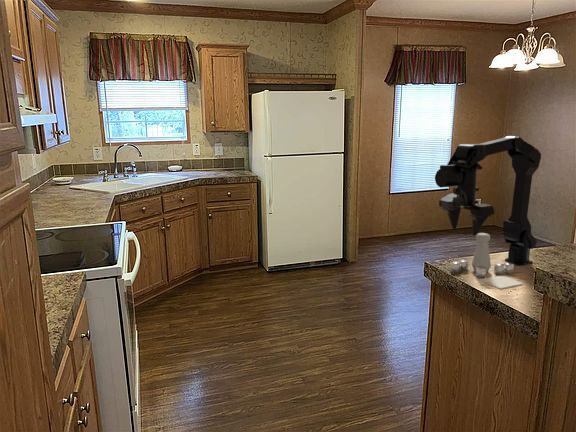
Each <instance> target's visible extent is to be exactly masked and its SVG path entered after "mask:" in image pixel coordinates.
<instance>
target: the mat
mask: <svg viewBox="0 0 576 432" xmlns="http://www.w3.org/2000/svg"><path fill="white" fill-rule="evenodd" d="M479 281H480V282H482V283H484V284H487V285H488V286H489V285H490V286H491V287H494V288H497V289H498V290H503V289H504V290H505V289H508V288H514V287H518V286H522V285H524V283H523V282H520V281H519V280H515V279H513V278H510V277H508V276H505V275H504V274H503V275H497V276H492V277H486V278H483V279H482V278H479Z"/></svg>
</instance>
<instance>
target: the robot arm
mask: <svg viewBox="0 0 576 432" xmlns="http://www.w3.org/2000/svg"><path fill="white" fill-rule="evenodd" d="M502 152H503V153H504V152H506V154H507V155H508V156H509V157H510V159H511V167H512V169H513V171H514V173H515V178H514V186H513V187H514V188H513V196H512V205H511V212H510V216H509V217H508V219H506V220H503V222H502V230H501V232H502V236H503V239H504V242H505V244H509V247H508V248H509V249H508V253H507V254H508V255H507V257H506V258H504V261H505V262H510V263H513V264H514V265H518V266H522V265H523V266H524V265H527V264H532V263H533V262H534V261H532V260H530V253H531V249H533V248H536V245H537V243H538V241H537V240H536V238H535V237H534V235H533V233H532V225H531V223H530V220H529V218H528V212H529V206H530V196H531V188H532V180H533V175H534V173H536V171H538V169H539V167H540V163H541V159H542V153H541V151H539V149H538V148H536V147H535V146H534V145H532V144H531V143H529V142H526V140H524V139H523V138H522V137H520V136H519V135H507V136H505V137H501V138H497V139H494V140H493V139H492V140H489V141H485V142H482V143H460V144H458V145H457V146H456V149H455V151H454V152H453V155H451V158H450V159H449V161H448V162H447V165H445V164H441V165H440V166H439V169H438V170H437V171H436V173H435V175H434V181H435V184H436V185H437V187H439V188H440V189H441V188H447V187H453V189H452V193H449V194H446V195H445V196H444V197H441V198H440V200H438V201H439V203H438V205H439V207H441V209H442V210H444V211H445V212H446V213H447V215H448V218H449V221H450V224H451V227H452V229H453V230H456V229H457V227H458V223H459V220H460V219H459V218H460V215H461V209H464V210H468V211H469V212H470V215H469V217H470V218H471V220H472V235H473V236H476V235H477V234H478V233H480V232H479V231H480V230H481V228H482V227H483V224H484V223H485V222H486V220H488V218H489V217H491V216H492V215H495V207H494V205H491V204H488V203H479V200H478V199H476V198H477V197H476V196H477V195H476V194H477V193H476V192H478V191H480V187H477V179H478V178H477V177H478V176H477V175H478V171H479V170H482V169H483V166H482V165H481V164H480V162H482V161H484V159H486V157H488V156H491V155H495V154H500V153H502Z"/></svg>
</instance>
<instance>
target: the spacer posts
mask: <svg viewBox="0 0 576 432" xmlns="http://www.w3.org/2000/svg"><path fill="white" fill-rule="evenodd" d="M514 269H515V264H514V263H511V262H508V261H505V262H503V263H500V262H495V263H494V269H493V273H494V275H497V276H501V275H503V276H504V275H505V274H507V275H513V274H514ZM468 270H469V261H468V260H467V259H459V260H458V261H451V262H450V273H454V274H460V273H461V272H467V271H468ZM486 275H487V273H486V268H485V267H480V266H479V267H476V272H475V278H477V279H486V278H487V277H486Z"/></svg>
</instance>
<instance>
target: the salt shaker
mask: <svg viewBox="0 0 576 432" xmlns="http://www.w3.org/2000/svg"><path fill="white" fill-rule="evenodd" d="M475 240H476V241H477V243H476V246H475V251H474V254H473V258H472V261H471V266H472V268H473V269H472V270H473V272H474V273H476V267H479V266H480V267H485V268H486V274H487V273H488V272H489V271H490V269H491V267H492V264H491V254H490V247H489V246H490V245H489V242H490V241H491V235H490V234H489V233H485V232H478V233H477V235H475Z"/></svg>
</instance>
